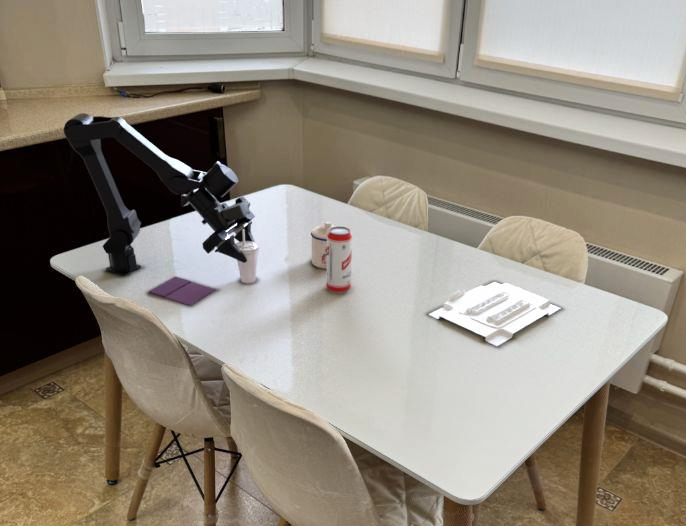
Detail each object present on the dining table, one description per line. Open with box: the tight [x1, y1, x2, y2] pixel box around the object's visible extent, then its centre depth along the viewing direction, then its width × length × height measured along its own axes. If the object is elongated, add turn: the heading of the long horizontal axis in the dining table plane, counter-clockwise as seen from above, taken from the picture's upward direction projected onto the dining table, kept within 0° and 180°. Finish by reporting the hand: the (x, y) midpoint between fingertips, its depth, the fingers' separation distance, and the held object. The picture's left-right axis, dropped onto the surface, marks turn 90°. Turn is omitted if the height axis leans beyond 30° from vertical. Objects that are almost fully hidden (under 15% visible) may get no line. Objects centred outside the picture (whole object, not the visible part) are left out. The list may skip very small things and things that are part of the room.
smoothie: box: [235, 229, 260, 284], centre depth 177 cm, size 6×6×14 cm
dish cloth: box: [148, 276, 217, 306], centre depth 173 cm, size 13×10×1 cm
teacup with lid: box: [310, 221, 336, 270], centre depth 189 cm, size 12×9×12 cm
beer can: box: [325, 225, 353, 294], centre depth 174 cm, size 6×6×16 cm
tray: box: [428, 281, 562, 347], centre depth 170 cm, size 20×28×4 cm
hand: (251, 257), depth 176 cm, fingers closed on smoothie, 6 cm apart
